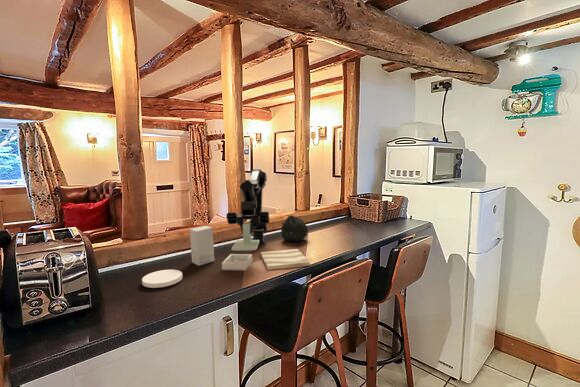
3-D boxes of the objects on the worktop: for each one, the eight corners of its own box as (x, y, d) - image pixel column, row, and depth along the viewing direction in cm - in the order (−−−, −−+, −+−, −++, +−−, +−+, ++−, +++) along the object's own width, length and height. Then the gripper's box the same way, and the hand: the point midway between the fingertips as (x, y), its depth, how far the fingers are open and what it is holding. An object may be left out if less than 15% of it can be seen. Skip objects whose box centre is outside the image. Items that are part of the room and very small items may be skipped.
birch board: (260, 255, 146) (260, 252, 146) (297, 252, 150) (297, 249, 150) (267, 269, 127) (267, 266, 126) (309, 265, 131) (309, 262, 131)
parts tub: (230, 260, 139) (230, 254, 139) (252, 260, 138) (252, 254, 138) (222, 270, 128) (221, 262, 127) (245, 270, 126) (245, 263, 126)
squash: (312, 227, 178) (294, 208, 177) (311, 234, 163) (292, 214, 163) (294, 243, 181) (277, 224, 180) (292, 252, 166) (273, 231, 165)
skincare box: (207, 258, 143) (206, 225, 142) (215, 261, 139) (213, 227, 137) (191, 262, 138) (189, 228, 136) (198, 266, 133) (196, 230, 131)
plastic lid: (189, 276, 122) (189, 270, 122) (168, 291, 108) (167, 284, 108) (158, 274, 125) (158, 268, 125) (133, 288, 111) (133, 282, 111)
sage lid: (237, 243, 138) (236, 222, 137) (259, 243, 138) (258, 222, 137) (231, 251, 126) (230, 228, 125) (256, 251, 126) (255, 228, 125)
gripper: (226, 194, 138) (221, 224, 128) (268, 193, 137) (266, 223, 128) (230, 209, 146) (226, 238, 137) (270, 208, 146) (268, 237, 136)
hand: (246, 233), depth 134 cm, fingers closed on sage lid, 3 cm apart
